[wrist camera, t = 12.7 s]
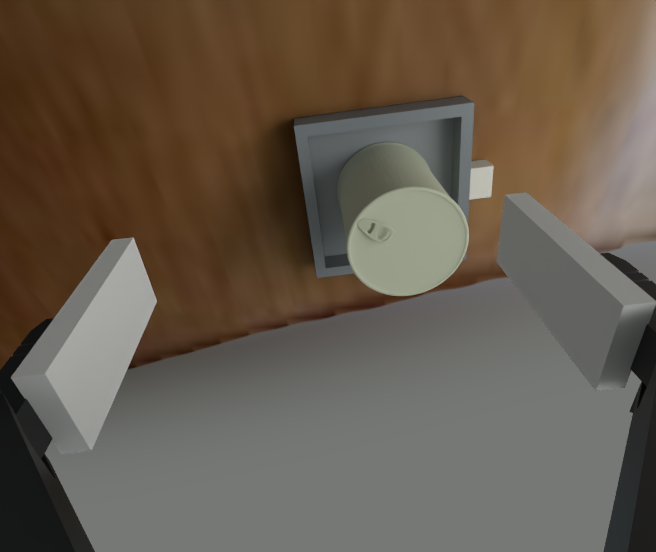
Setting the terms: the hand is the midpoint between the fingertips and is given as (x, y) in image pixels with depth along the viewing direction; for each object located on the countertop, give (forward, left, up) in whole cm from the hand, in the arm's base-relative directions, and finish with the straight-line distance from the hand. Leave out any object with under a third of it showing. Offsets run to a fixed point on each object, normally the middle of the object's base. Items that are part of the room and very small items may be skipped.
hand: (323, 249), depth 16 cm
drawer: (+7, -8, -27) cm, 29 cm away
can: (+6, -8, -27) cm, 28 cm away
